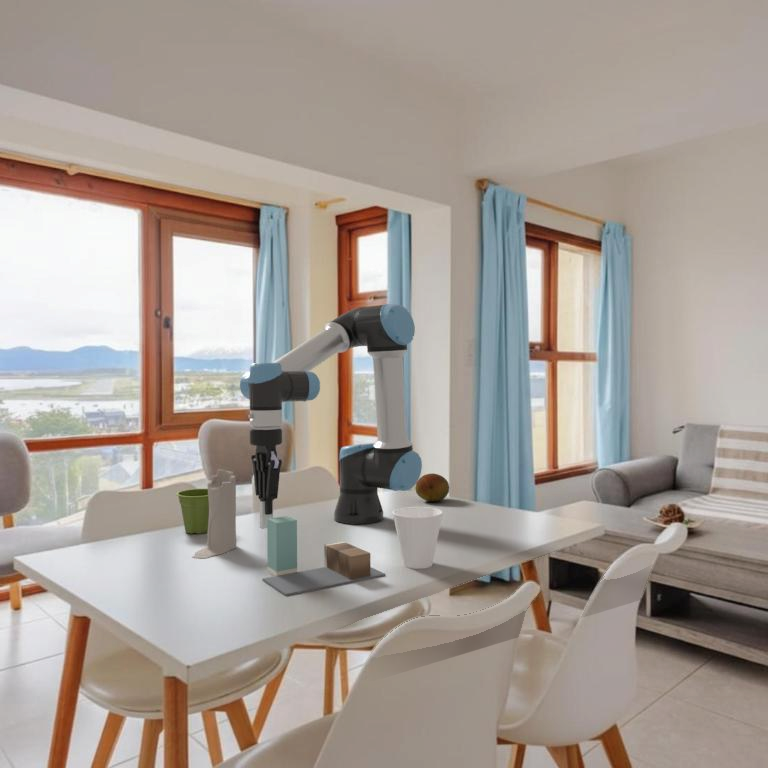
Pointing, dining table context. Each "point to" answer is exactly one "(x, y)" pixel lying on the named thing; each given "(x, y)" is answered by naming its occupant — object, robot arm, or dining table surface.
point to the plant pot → (195, 510)
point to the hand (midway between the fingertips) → (266, 527)
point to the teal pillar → (282, 545)
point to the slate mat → (312, 580)
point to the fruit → (432, 487)
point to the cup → (417, 535)
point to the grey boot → (220, 515)
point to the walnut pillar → (347, 560)
